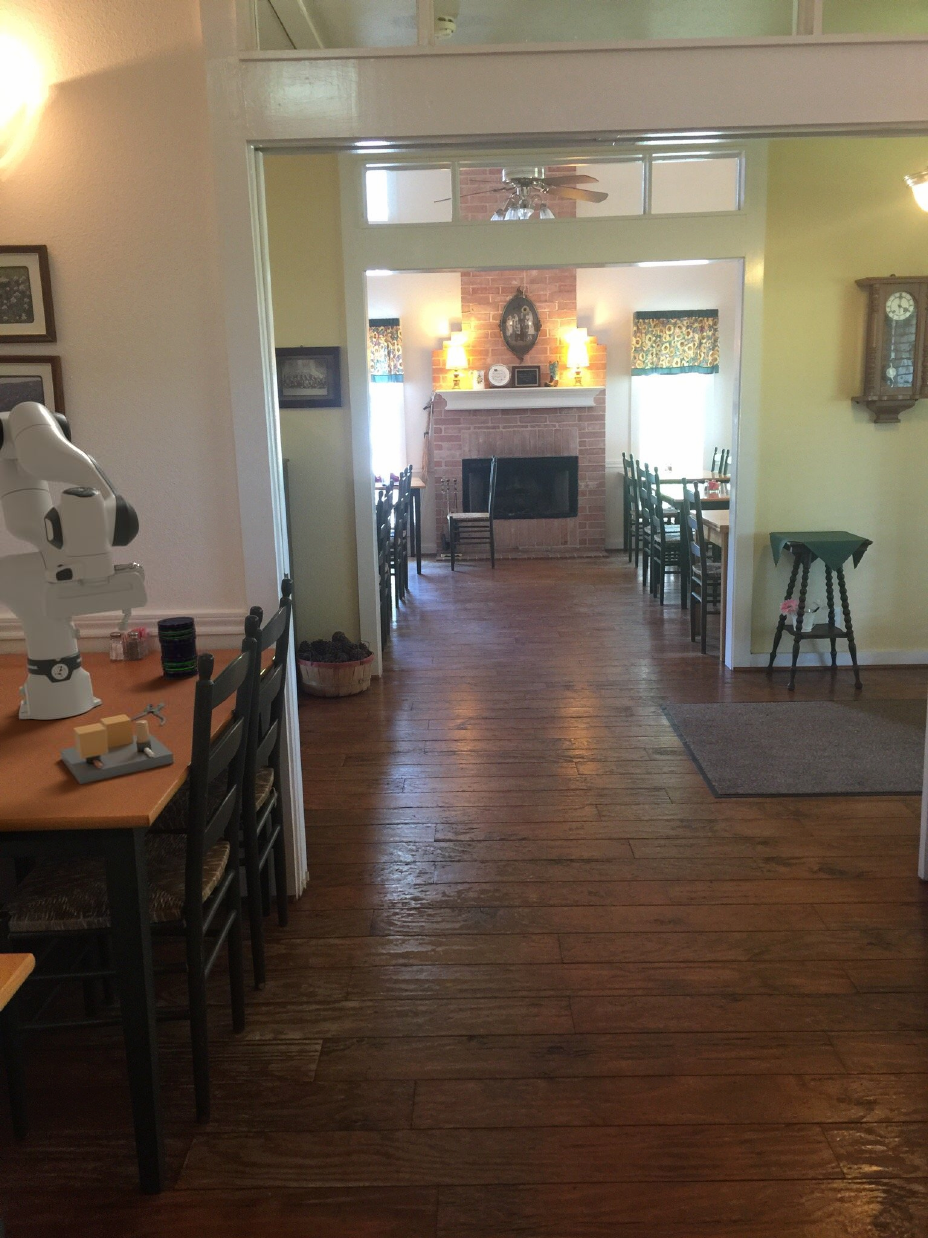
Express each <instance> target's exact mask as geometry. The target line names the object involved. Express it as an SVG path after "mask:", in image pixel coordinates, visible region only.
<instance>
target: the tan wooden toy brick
mask: <svg viewBox="0 0 928 1238" xmlns="http://www.w3.org/2000/svg"><path fill="white" fill-rule="evenodd" d="M131 719H132V718H130V717H128V716H127V715H126V714H125V713H124V714H118V715H114V716H107V717H105V718H104V717H103V718H100V724H101V725H102V726H103V727H104V728H105V729H106V737H107V745H108V747H109V748H110V747H115V746H120V745H124V744H129V743H134V741H133V735H134V733H133V727H132V722H131Z"/></svg>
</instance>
